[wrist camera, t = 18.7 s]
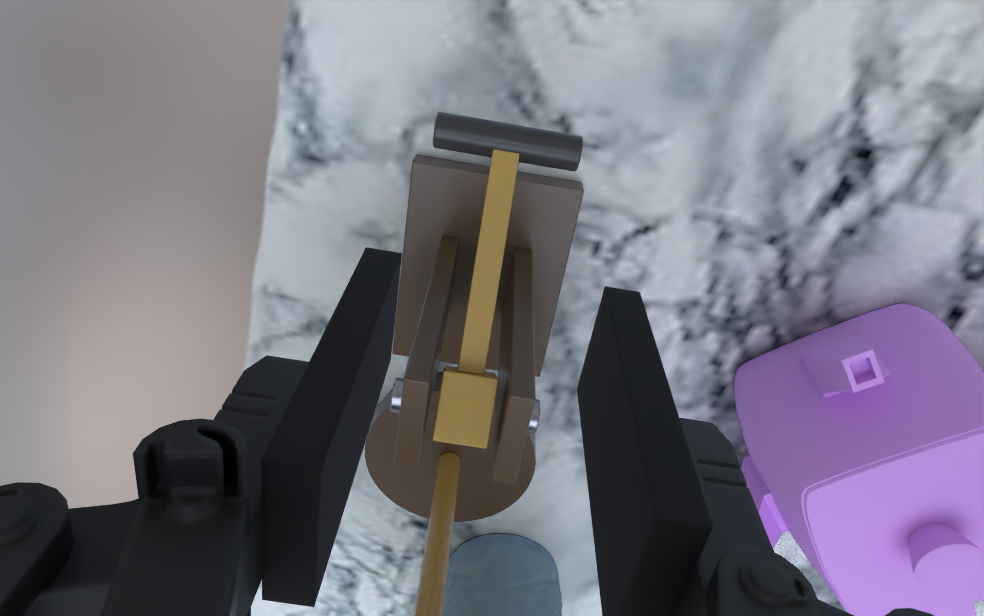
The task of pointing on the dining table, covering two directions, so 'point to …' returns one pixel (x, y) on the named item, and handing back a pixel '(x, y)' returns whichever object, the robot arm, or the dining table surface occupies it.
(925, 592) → the teakettle
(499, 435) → the switch bracket
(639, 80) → the dining table surface
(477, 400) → the switch lever
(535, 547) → the blue-grey cup
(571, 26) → the dining table surface
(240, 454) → the robot arm
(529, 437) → the lamp
